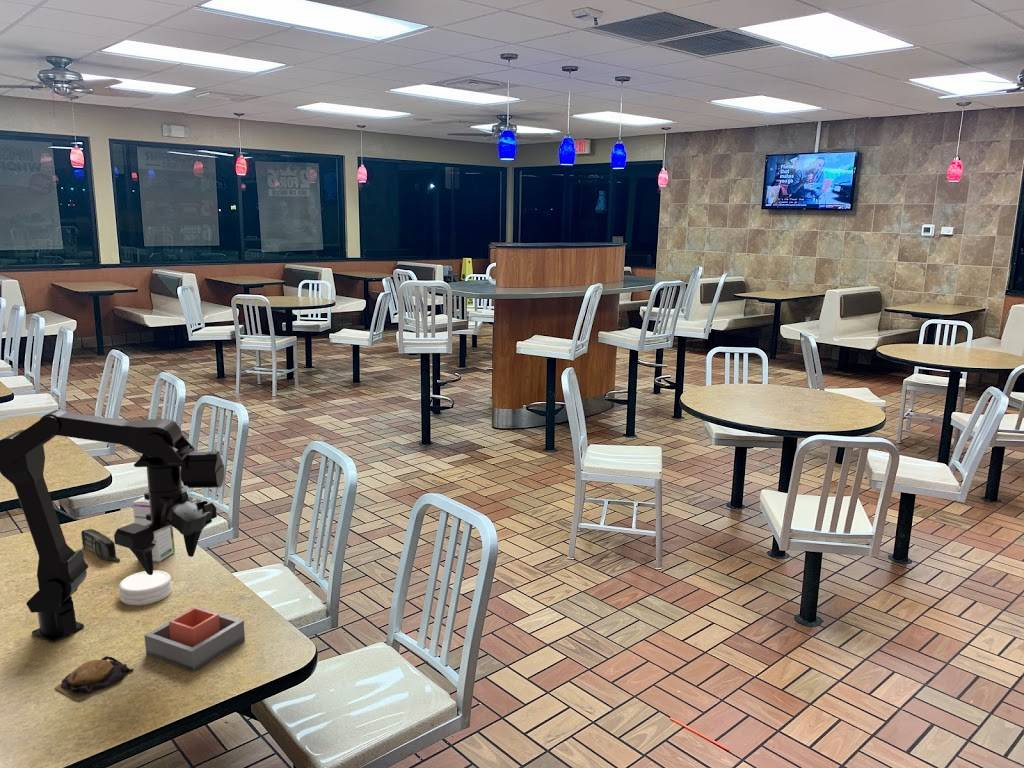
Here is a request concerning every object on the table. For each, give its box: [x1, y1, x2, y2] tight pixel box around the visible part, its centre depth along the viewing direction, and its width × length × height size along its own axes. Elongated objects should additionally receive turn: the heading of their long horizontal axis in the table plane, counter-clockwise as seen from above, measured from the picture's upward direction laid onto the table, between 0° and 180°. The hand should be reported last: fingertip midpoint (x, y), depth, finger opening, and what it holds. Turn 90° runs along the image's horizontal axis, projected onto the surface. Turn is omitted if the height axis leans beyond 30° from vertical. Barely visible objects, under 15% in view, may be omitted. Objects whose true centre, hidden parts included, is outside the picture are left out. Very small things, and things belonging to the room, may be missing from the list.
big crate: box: [144, 606, 246, 673], centre depth 142 cm, size 12×12×4 cm
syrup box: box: [132, 496, 176, 563], centre depth 179 cm, size 6×6×14 cm
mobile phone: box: [80, 528, 121, 562], centre depth 181 cm, size 5×3×15 cm
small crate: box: [168, 606, 220, 647], centre depth 142 cm, size 6×6×5 cm
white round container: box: [118, 569, 173, 606], centre depth 162 cm, size 10×10×4 cm
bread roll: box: [54, 655, 134, 703], centre depth 132 cm, size 11×8×4 cm
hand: (171, 565), depth 147 cm, fingers open, 9 cm apart
